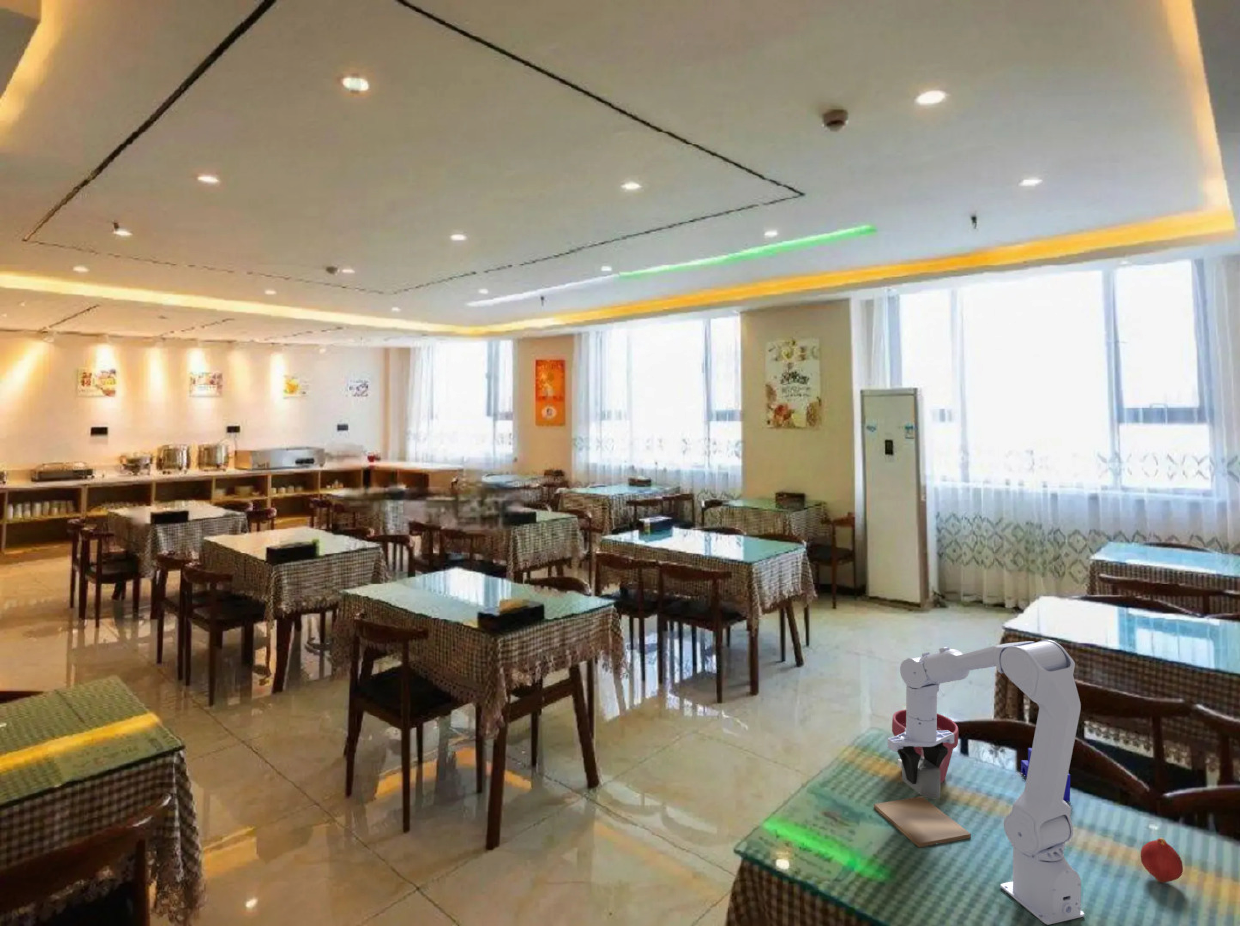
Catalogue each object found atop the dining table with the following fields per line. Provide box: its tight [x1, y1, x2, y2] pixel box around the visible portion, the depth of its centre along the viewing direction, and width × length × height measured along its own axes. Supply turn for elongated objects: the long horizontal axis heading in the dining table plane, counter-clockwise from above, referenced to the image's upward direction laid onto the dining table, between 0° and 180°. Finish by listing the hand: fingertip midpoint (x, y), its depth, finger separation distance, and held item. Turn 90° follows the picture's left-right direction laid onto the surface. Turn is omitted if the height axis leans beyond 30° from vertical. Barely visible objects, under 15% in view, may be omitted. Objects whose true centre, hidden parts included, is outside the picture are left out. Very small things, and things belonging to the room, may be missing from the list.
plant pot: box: [891, 709, 959, 784], centre depth 152 cm, size 14×14×13 cm
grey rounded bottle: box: [897, 756, 941, 799], centre depth 133 cm, size 10×4×5 cm, turn 14°
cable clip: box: [1020, 747, 1071, 802], centre depth 146 cm, size 12×4×6 cm, turn 172°
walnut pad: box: [873, 795, 972, 848], centre depth 133 cm, size 14×12×1 cm
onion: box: [1140, 837, 1184, 884], centre depth 115 cm, size 6×6×8 cm
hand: (920, 779), depth 133 cm, fingers closed on grey rounded bottle, 4 cm apart
